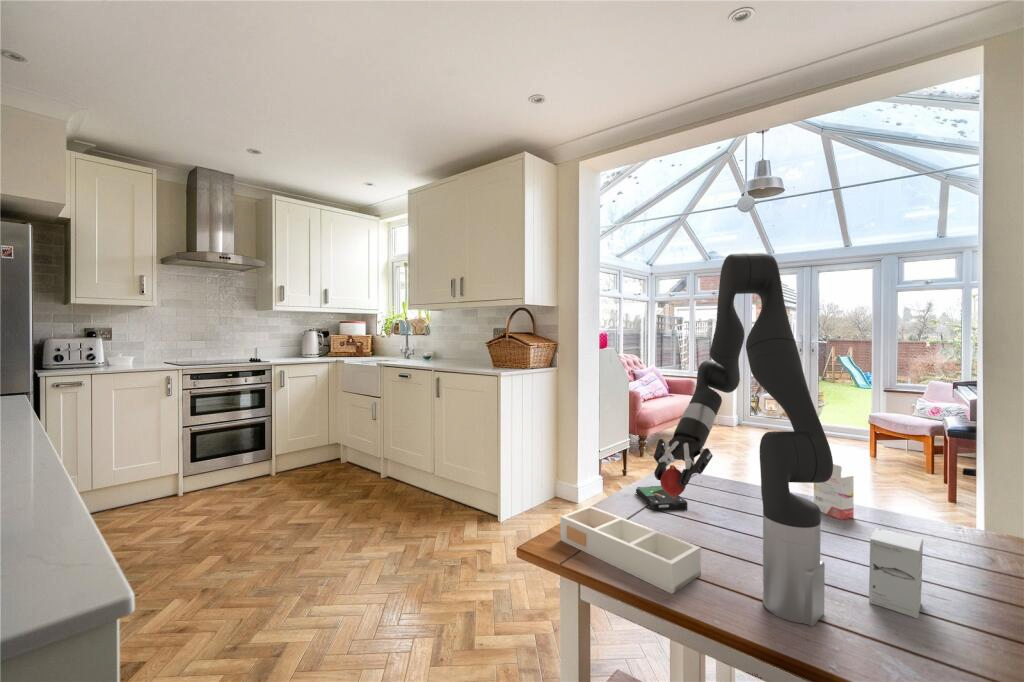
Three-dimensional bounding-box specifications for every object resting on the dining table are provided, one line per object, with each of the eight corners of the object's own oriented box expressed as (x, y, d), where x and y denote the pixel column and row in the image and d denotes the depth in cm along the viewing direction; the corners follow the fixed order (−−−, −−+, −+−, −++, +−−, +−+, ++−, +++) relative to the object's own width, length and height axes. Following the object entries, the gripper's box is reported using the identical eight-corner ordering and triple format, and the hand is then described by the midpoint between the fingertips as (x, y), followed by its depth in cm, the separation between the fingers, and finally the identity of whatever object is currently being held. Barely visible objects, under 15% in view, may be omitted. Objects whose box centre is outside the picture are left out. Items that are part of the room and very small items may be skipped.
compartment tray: (700, 575, 99) (700, 547, 99) (670, 594, 92) (670, 564, 92) (590, 528, 123) (589, 505, 123) (559, 540, 116) (559, 516, 116)
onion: (663, 491, 117) (663, 460, 116) (688, 495, 114) (687, 463, 113) (658, 499, 112) (657, 466, 111) (683, 503, 109) (682, 469, 108)
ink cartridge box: (854, 518, 128) (855, 465, 128) (841, 520, 127) (841, 466, 126) (825, 506, 136) (825, 457, 136) (812, 509, 135) (812, 458, 134)
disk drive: (688, 511, 135) (665, 493, 150) (688, 501, 135) (665, 484, 150) (654, 513, 134) (635, 494, 149) (654, 503, 134) (635, 486, 149)
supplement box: (867, 603, 89) (868, 537, 88) (874, 588, 94) (874, 526, 93) (919, 620, 83) (919, 550, 83) (922, 603, 88) (923, 537, 88)
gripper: (664, 412, 122) (636, 466, 115) (717, 420, 111) (690, 480, 104) (675, 429, 126) (649, 482, 119) (728, 438, 115) (703, 498, 107)
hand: (669, 481), depth 111 cm, fingers closed on onion, 5 cm apart
